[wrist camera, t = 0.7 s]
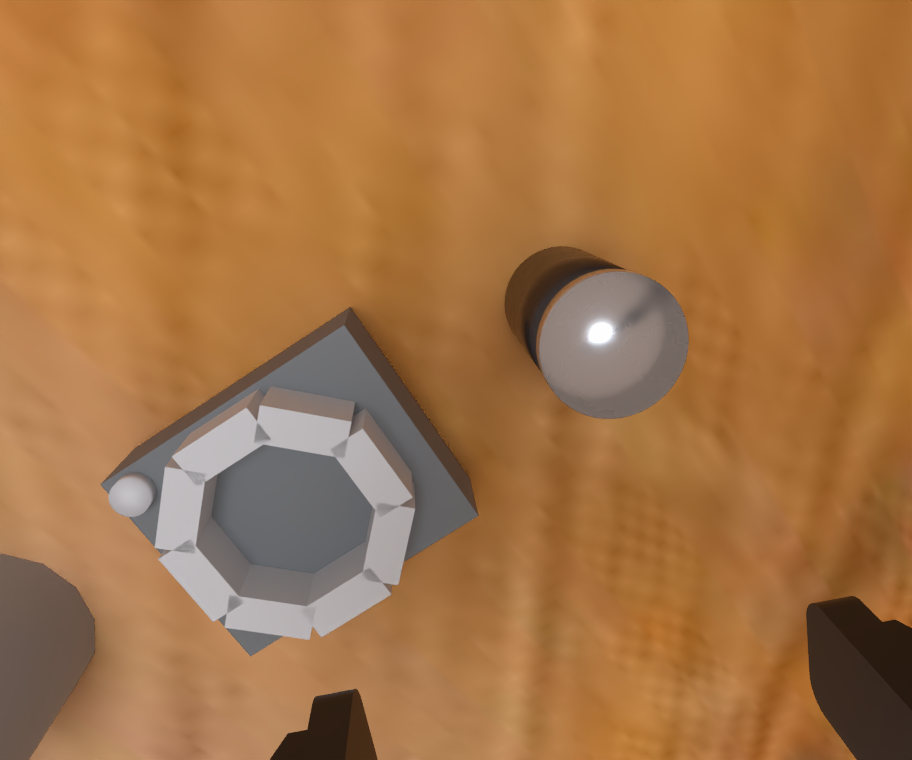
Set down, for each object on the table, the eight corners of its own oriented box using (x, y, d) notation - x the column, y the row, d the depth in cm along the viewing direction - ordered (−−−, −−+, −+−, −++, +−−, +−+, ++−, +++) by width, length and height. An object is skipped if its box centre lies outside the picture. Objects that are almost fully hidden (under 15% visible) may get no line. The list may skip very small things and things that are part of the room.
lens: (579, 222, 33) (644, 241, 24) (634, 317, 34) (714, 367, 26) (482, 285, 33) (512, 326, 25) (540, 377, 35) (587, 445, 26)
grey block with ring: (350, 307, 33) (339, 339, 27) (469, 478, 36) (485, 543, 29) (134, 449, 34) (74, 511, 28) (266, 605, 37) (238, 694, 30)
